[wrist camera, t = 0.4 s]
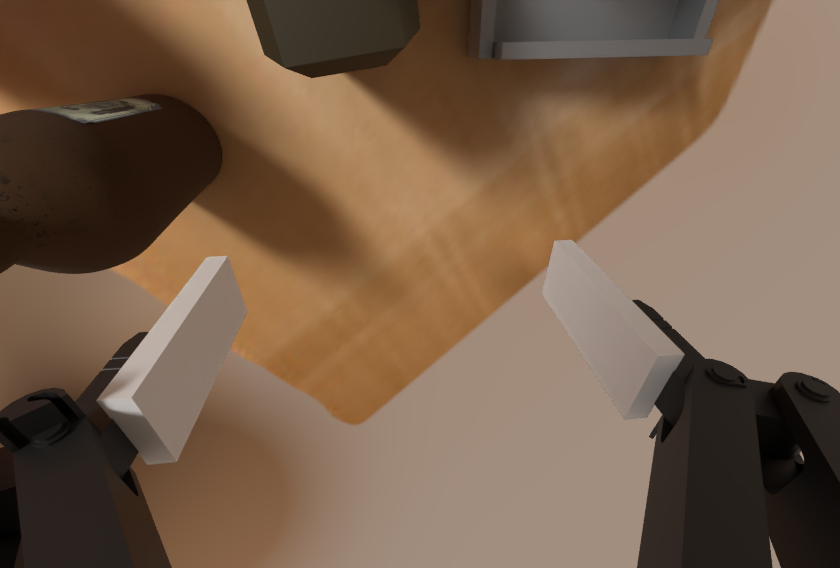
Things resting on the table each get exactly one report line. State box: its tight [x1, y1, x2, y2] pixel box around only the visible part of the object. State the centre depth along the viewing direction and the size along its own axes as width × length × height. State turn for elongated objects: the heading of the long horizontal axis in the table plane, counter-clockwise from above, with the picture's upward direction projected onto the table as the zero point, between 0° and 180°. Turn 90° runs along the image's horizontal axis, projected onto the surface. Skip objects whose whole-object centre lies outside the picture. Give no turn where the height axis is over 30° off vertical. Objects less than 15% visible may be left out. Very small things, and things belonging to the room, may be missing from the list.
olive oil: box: [0, 95, 222, 274], centre depth 27 cm, size 11×11×25 cm
